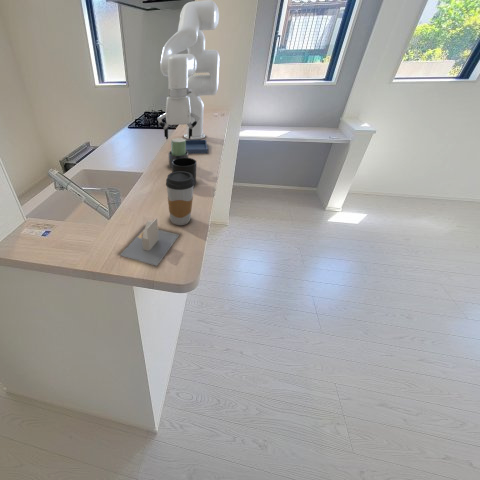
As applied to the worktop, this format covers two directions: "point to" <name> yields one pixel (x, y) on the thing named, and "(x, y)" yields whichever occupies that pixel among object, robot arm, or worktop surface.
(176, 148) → the green cup
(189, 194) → the coffee cup
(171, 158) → the dark gray cup
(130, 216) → the worktop surface
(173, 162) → the mug
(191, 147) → the tray
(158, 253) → the architectural model
